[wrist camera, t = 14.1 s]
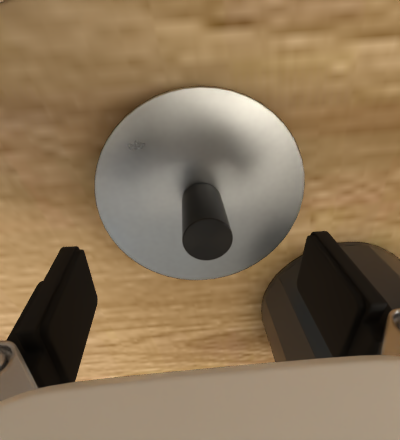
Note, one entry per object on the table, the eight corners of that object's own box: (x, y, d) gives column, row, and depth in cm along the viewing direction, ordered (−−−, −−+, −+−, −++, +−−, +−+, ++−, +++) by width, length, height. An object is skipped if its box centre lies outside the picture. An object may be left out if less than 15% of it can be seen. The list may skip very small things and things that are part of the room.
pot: (255, 349, 30) (283, 458, 22) (269, 245, 24) (317, 345, 15) (377, 341, 31) (449, 443, 23) (425, 238, 24) (551, 330, 16)
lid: (116, 275, 24) (98, 337, 19) (77, 87, 17) (29, 100, 12) (284, 266, 25) (313, 323, 19) (315, 82, 18) (375, 92, 12)
